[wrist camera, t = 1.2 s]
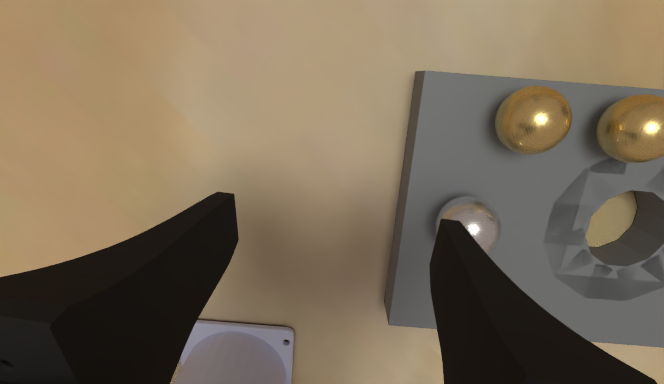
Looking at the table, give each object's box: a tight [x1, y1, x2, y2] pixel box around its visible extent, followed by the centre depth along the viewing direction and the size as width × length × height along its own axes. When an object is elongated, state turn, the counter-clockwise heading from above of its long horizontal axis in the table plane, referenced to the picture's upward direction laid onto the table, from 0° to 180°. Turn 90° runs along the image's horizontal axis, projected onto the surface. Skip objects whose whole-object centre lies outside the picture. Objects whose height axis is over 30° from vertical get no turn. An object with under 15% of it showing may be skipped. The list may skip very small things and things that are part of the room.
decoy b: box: [596, 94, 664, 163], centre depth 18 cm, size 3×3×3 cm
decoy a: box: [495, 86, 572, 155], centre depth 18 cm, size 3×3×3 cm
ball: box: [436, 196, 502, 254], centre depth 19 cm, size 3×3×3 cm
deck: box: [384, 71, 664, 348], centre depth 22 cm, size 18×15×2 cm
